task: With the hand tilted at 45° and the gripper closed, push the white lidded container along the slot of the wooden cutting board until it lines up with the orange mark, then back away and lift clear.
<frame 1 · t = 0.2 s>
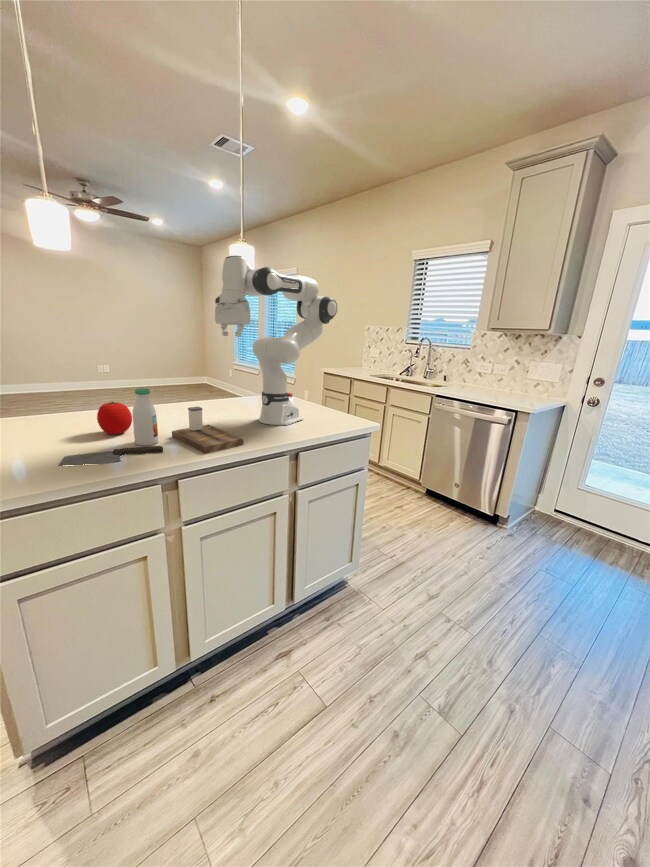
hand: (231, 336, 141), 39 cm above the countertop, tool pointing down, fingers open, 8 cm apart
cleaver: (114, 459, 115), on the countertop
white lidded container: (195, 418, 139), point 7 cm above the countertop, slide at 0.0 cm
wooden cutting board: (207, 440, 136), on the countertop
tomato: (116, 433, 138), on the countertop
milk bottle: (147, 443, 130), on the countertop
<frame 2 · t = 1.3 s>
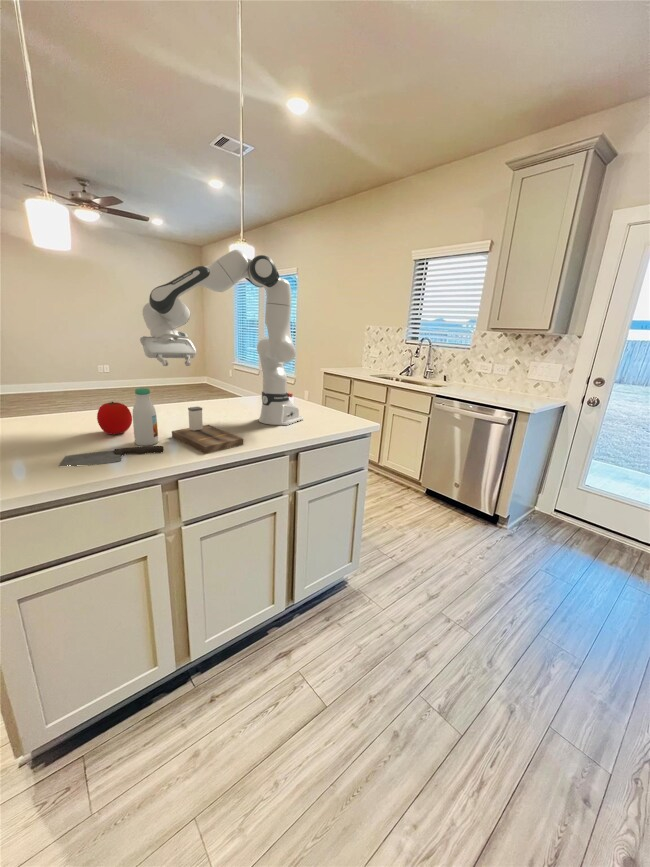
hand: (177, 365, 141), 27 cm above the countertop, tool tilted 45°, fingers open, 8 cm apart
nothing on the countertop moved.
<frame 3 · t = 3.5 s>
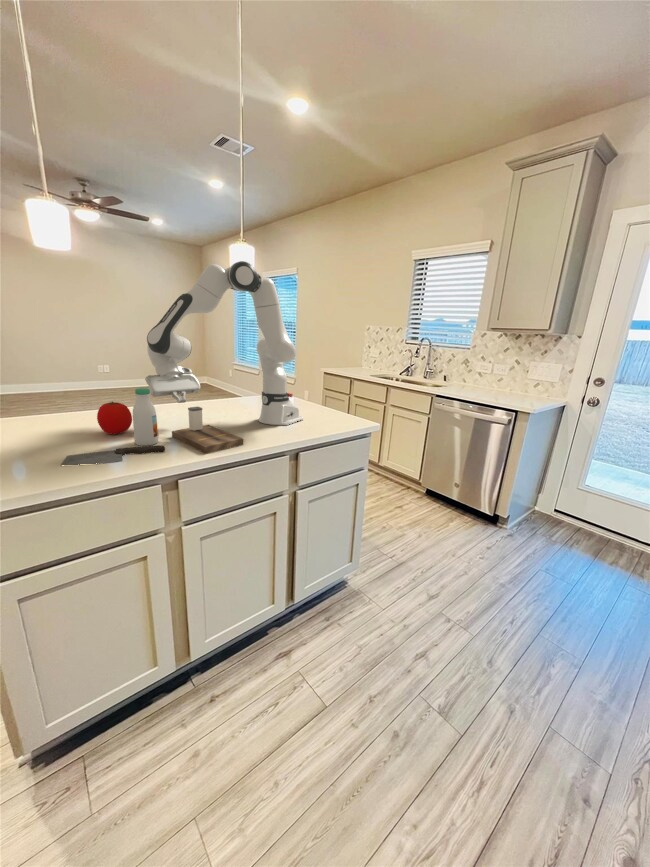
hand: (182, 401, 144), 12 cm above the countertop, tool tilted 45°, fingers closed
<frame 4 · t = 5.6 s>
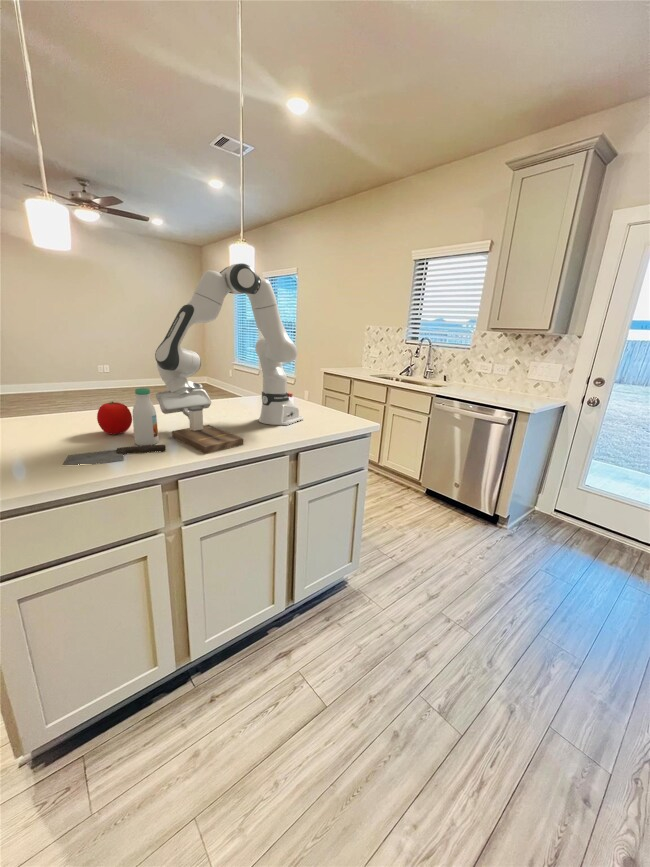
hand: (193, 418, 140), 7 cm above the countertop, tool tilted 45°, fingers closed, pressing on white lidded container
white lidded container: (196, 418, 139), point 7 cm above the countertop, slide at 0.4 cm, touching gripper
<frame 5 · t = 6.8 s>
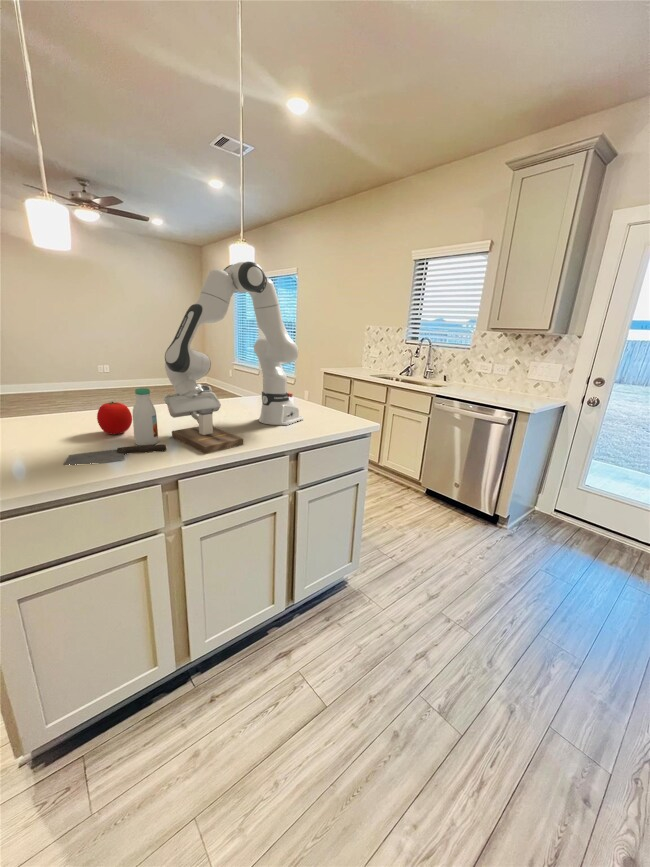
hand: (202, 422, 136), 7 cm above the countertop, tool tilted 45°, fingers closed, pressing on white lidded container
white lidded container: (205, 422, 135), point 7 cm above the countertop, slide at 7.3 cm, touching gripper
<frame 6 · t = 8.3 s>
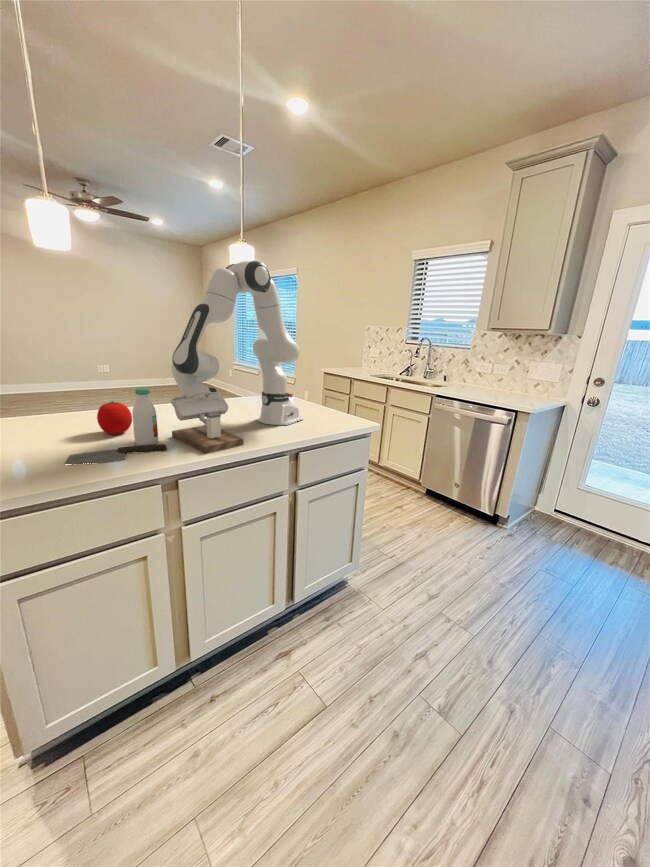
hand: (210, 425, 133), 7 cm above the countertop, tool tilted 45°, fingers closed, pressing on white lidded container
white lidded container: (213, 425, 131), point 7 cm above the countertop, slide at 12.7 cm, touching gripper
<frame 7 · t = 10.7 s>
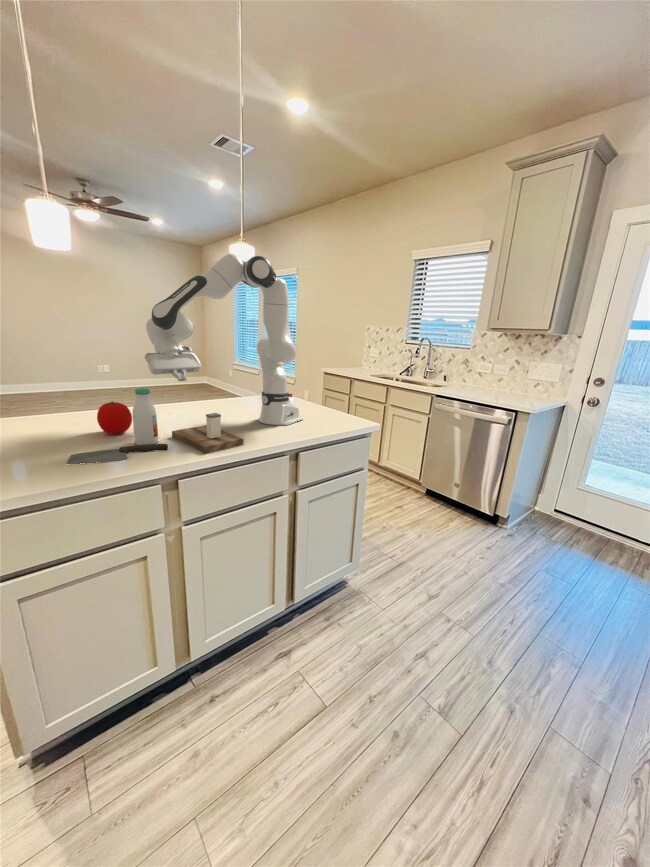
hand: (182, 380, 140), 21 cm above the countertop, tool tilted 45°, fingers closed
white lidded container: (213, 425, 131), point 7 cm above the countertop, slide at 12.7 cm
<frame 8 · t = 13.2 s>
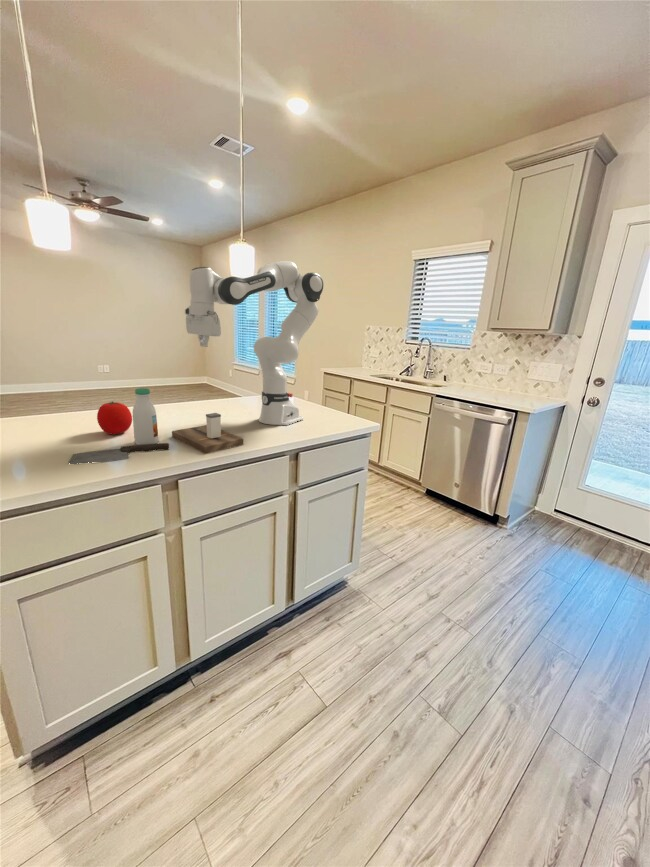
hand: (203, 346, 144), 34 cm above the countertop, tool pointing down, fingers closed
at the end: white lidded container slide at 12.7 cm; the gripper is holding nothing; milk bottle moved 0.2 cm from its start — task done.
